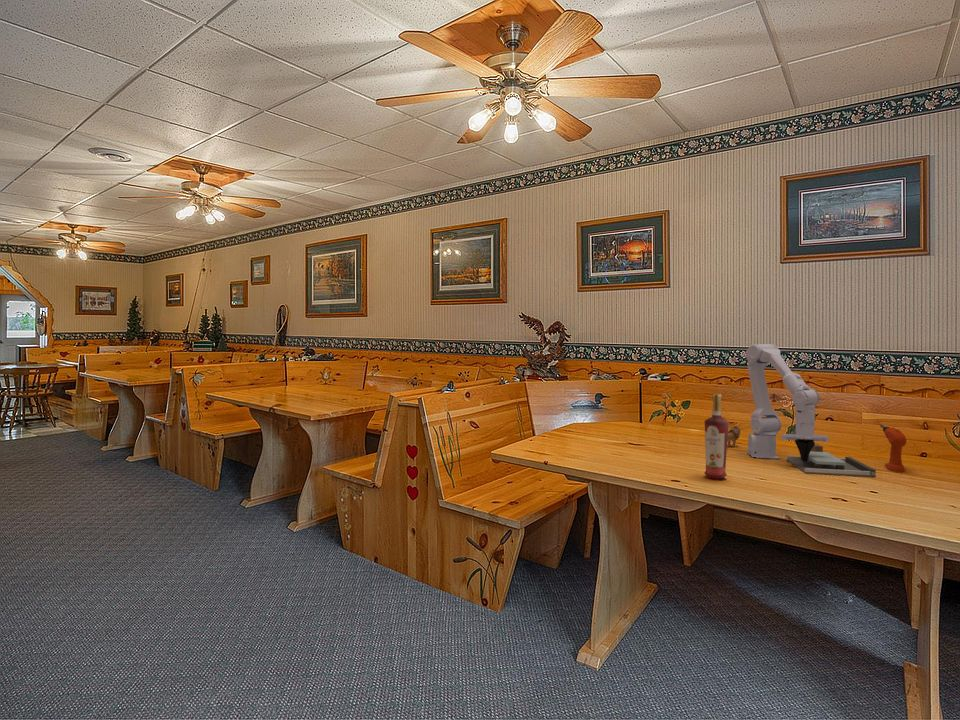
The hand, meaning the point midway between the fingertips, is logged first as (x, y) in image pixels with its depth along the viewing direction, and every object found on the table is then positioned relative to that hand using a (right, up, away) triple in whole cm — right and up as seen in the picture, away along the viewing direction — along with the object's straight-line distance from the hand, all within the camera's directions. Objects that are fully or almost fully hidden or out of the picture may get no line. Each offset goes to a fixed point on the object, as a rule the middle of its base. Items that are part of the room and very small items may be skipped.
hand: (804, 460), depth 188 cm
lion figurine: (-12, -1, +34) cm, 36 cm away
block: (+13, -2, +14) cm, 20 cm away
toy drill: (+31, -3, +1) cm, 31 cm away
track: (+8, -3, -2) cm, 8 cm away
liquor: (-38, -3, -13) cm, 40 cm away
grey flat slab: (+5, -3, -1) cm, 6 cm away
